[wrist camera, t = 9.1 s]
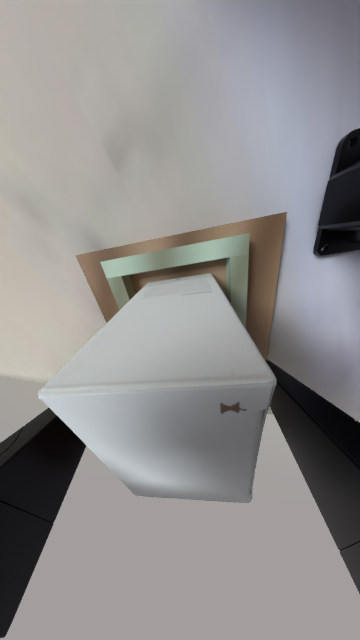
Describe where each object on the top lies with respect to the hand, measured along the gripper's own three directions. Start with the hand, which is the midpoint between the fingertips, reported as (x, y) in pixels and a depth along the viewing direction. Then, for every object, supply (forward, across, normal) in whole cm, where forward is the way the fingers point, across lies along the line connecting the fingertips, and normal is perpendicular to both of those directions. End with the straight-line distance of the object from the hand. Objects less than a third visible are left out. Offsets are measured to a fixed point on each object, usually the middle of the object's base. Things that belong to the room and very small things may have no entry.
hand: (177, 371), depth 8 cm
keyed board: (+8, 0, 0) cm, 8 cm away
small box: (+7, 0, 0) cm, 7 cm away
